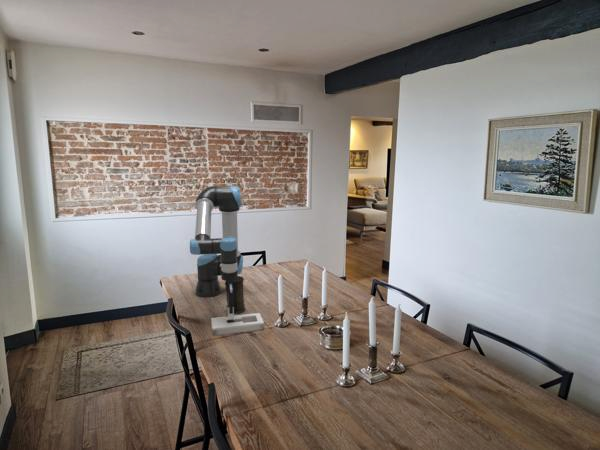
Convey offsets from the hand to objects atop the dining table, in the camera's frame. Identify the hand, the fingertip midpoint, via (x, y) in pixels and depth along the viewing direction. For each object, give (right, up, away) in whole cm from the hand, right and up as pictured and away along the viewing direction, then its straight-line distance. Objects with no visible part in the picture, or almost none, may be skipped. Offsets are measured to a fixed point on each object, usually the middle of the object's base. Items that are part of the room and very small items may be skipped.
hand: (230, 317), depth 189 cm
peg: (0, -4, +1) cm, 4 cm away
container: (-1, -1, +21) cm, 21 cm away
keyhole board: (+3, -5, +2) cm, 6 cm away
